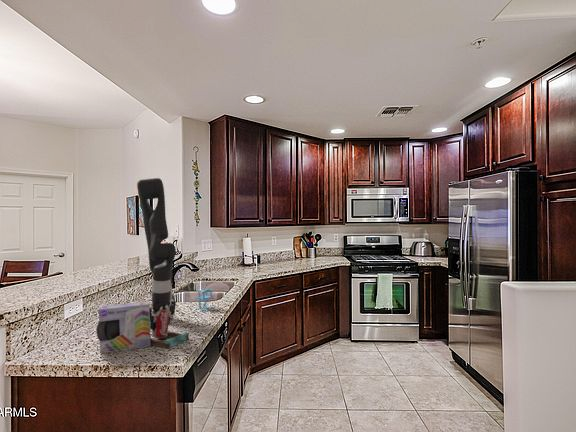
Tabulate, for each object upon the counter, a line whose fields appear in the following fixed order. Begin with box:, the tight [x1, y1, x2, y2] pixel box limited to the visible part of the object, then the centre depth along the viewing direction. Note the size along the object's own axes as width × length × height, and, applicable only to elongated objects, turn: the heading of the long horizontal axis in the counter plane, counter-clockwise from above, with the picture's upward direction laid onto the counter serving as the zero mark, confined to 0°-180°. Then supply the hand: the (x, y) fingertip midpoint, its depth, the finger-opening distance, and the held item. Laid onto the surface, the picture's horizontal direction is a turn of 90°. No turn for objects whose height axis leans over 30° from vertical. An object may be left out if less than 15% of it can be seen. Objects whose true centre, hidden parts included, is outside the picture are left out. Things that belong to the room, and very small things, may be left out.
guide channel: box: [150, 330, 190, 350], centre depth 147 cm, size 11×21×3 cm, turn 61°
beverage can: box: [151, 309, 169, 339], centre depth 149 cm, size 6×6×12 cm
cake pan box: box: [96, 301, 152, 354], centre depth 137 cm, size 19×5×18 cm, turn 109°
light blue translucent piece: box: [196, 288, 215, 312], centre depth 198 cm, size 8×8×12 cm
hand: (160, 327), depth 149 cm, fingers closed on beverage can, 6 cm apart
